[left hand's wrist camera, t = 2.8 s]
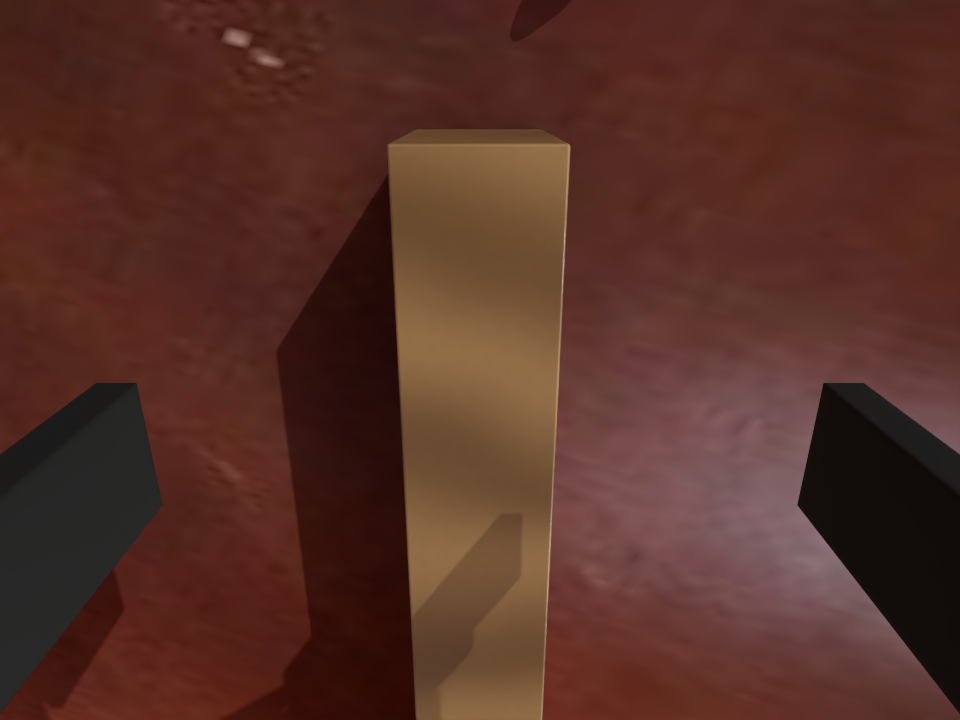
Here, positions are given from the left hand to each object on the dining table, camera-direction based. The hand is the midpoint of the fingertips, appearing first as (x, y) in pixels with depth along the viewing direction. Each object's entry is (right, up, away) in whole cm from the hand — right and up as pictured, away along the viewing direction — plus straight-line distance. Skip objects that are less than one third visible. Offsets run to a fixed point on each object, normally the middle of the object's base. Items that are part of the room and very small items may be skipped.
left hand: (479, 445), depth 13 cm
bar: (0, -20, +25) cm, 32 cm away
